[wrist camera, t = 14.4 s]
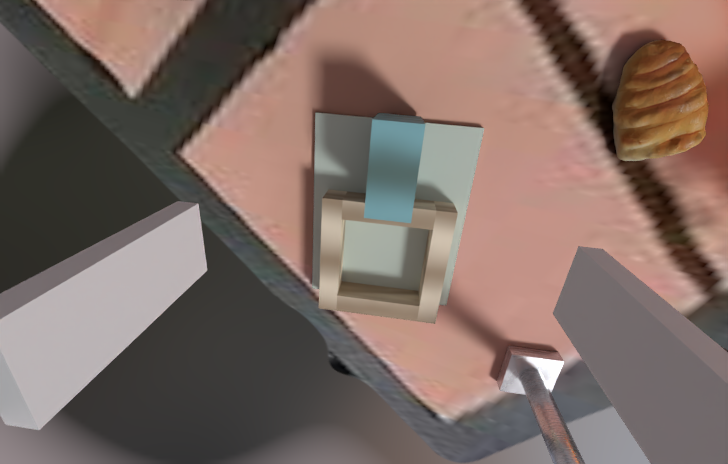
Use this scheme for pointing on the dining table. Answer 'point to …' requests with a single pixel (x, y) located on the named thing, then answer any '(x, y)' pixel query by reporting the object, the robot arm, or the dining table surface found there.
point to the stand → (540, 397)
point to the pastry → (659, 103)
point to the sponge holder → (390, 207)
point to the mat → (435, 183)
